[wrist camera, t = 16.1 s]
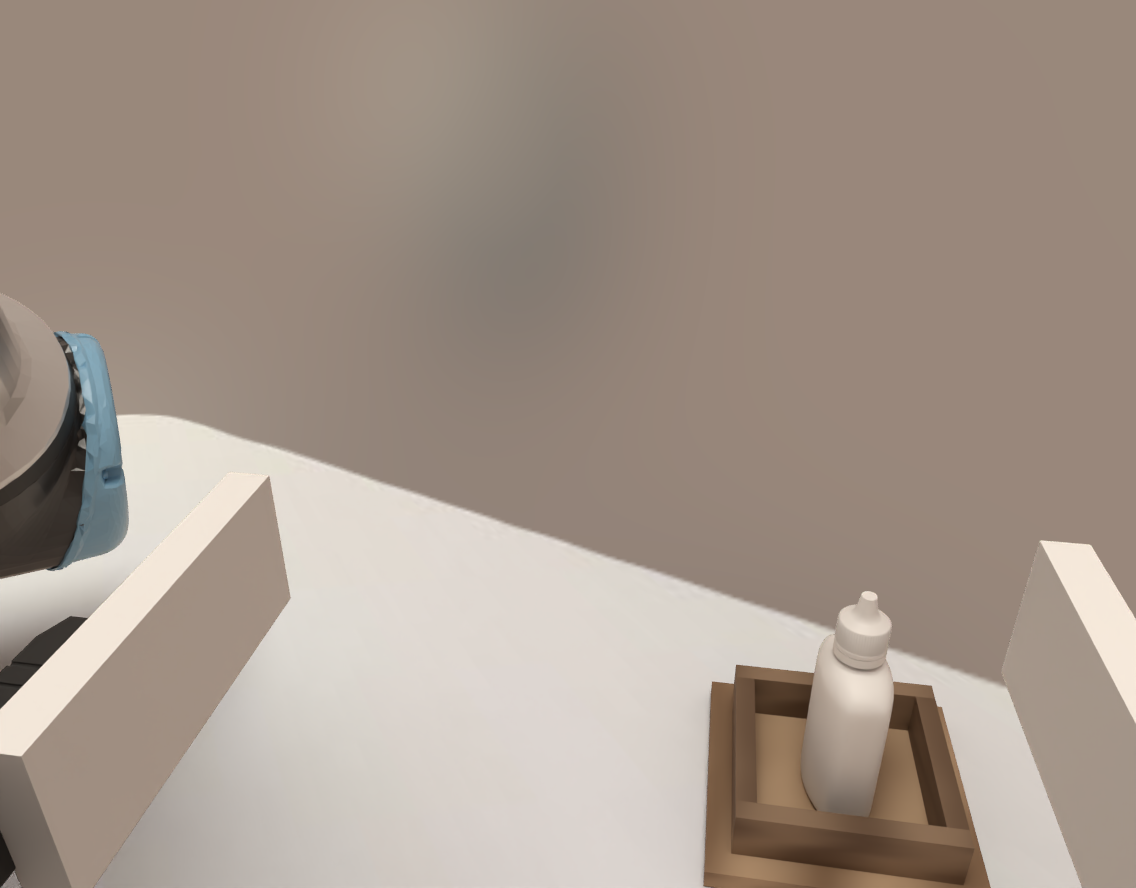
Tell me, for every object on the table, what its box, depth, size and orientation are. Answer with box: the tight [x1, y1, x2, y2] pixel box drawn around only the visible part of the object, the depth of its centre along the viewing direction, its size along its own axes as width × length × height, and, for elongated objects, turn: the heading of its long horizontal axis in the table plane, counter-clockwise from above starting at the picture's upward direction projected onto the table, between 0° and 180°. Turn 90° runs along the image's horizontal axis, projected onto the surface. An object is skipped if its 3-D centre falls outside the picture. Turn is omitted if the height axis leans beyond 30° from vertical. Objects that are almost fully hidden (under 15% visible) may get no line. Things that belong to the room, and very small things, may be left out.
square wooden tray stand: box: [704, 665, 991, 888], centre depth 47 cm, size 13×13×4 cm
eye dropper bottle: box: [801, 591, 894, 817], centre depth 45 cm, size 4×6×12 cm
